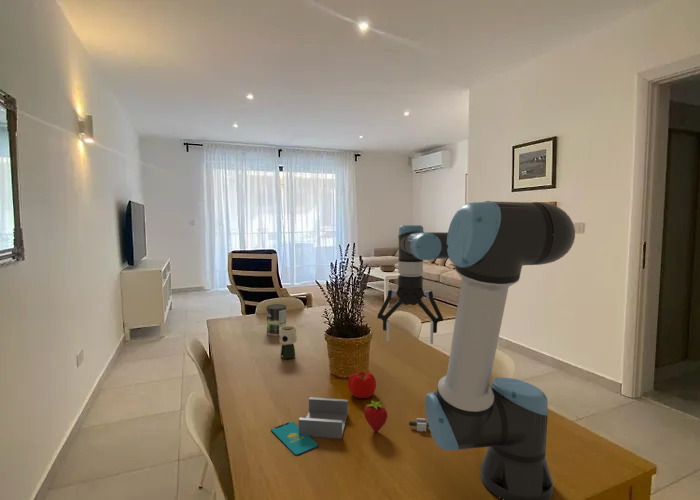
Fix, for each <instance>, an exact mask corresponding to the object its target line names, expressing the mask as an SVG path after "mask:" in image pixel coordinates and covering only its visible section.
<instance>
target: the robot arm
mask: <svg viewBox="0 0 700 500" xmlns="http://www.w3.org/2000/svg"><path fill="white" fill-rule="evenodd" d="M398 228H399V229H398V235H397V236H398V237H397V238H398V263H397V264H398V266H397V267H398V268H397V269H398V270H397V271H398V272H397V273H398V274H399V275H398V277H397V278H398V279H397V290H395V289H392V288H389V289H388V291H387V296H386V298H385V300H384V302H383V304H382V306H381V308H380V309H379V312H378V313H377V317H376V318H377V319H380V320H382V331H386V333H385V335H386V337H385V338H386V340H385V342H387V343H389V342H390V319H389V318H390V317H391V316H392V314H394V313H395V311H396V310H398V308H399V307H400V306H401V305H402V304H403V305H405V306H408V305H411V306H416V305H418V306H419V307H420V308H421V309H422V311H424V313H425V314H426V315H427V316H428V318H429V319H430V324H429V325H430V327H429V328H430V330H429V336H430V337H429V342H430V345H433V344H434V334H437V332H438V323H440V322H443V321H444V317H443V315H442V313H441V311H440V309H439V307H438V305H437V303H436V301H435V299H434V294H433V290H431V289H429V290H426V291H425V290H424V289H423V286H424V285H423V282H424V281H423V280H424V278H423V276H422V275H423V273H424V261H432V260H434V259H435V260H436V259H437V260H440V259H441V260H442V259H443V260H444V259H445V260H447V259H449V260H450V262H451V263H452V264H453V265H454V267H455V268H454V270H455V272H456V273H457V275H459V276H460V278H461V280H460V288H459V295H458V300H457V306H456V314H455V319H454V325H453V326H454V327H453V333H452V338H451V344H450V345H451V346H450V353H449V359H448V367H447V371H446V372H447V373H446V374H445V375H444V376H442V377H441V378H440V379H439V381H438V383H437V390H436V392H434V391H431V392H429V393H427V394H426V395H425V398H424V407H425V414H426V422H428V425H429V427H428V429H429V430H430V431H429V432H430V434H431V436H432V439H433V440H434V443H435V444H436V445H437V446H438V447H439V448H440V449H441V450H444V451H461V450H470V449H479V448H487V447H488V448H487V449H486V452H485V454H484V457H483V459H482V461H481V465H480V479H481V483H482V484H483V485H485V486H486V487H487V488H488V489H489V490H490V491H491V492H492V493H494V494H495V495H497V496H498V497H500V498H502V499H504V500H550V499H551V500H552V498H553V496H552V495H553V494H554V493H553V491H554V482H553V477H552V475H551V471H550V468H549V464H548V462H547V458H546V451H547V449H546V448H547V434H548V433H547V431H548V430H547V429H548V416H549V405H548V397H547V395H546V394H545V392H544V391H543V390H542V389H540V388H539V387H537V386H535V385H533V384H532V383H529V382H527V381H523V380H521V379H517V378H512V377H505V376H504V377H501V376H500V377H496V378H494V379H492V381H491V376H492V371H493V367H494V363H495V362H494V361H495V356H496V352H497V348H498V342H499V337H500V332H501V326H502V322H503V317H504V311H505V307H506V303H507V297H508V291H509V289H510V288H509V287H511V286H513V285H515V284H517V283H518V282H519V281H520V279H521V274H522V273H521V272H522V269H523V266H539V265H540V266H541V265H547V264H551V263H553V262H557V261H558V260H560V259H561V258H563V257H564V256H565V255H567V254H568V253H569V252H570V251H571V249H572V246H574V243H575V238H576V230H575V224H574V222H573V220H572V218H571V217H570V216H569V214H567V212H566V211H565V210H563V209H562V208H560V207H558V206H556V205H554V204H551V203H546V202H541V201H540V202H538V201H536V202H535V201H533V202H531V201H530V202H528V201H527V202H523V201H521V202H519V201H491V200H486V201H485V200H484V201H482V202H481V201H478V202H477V201H476V202H475V201H474V202H468V203H466V204H463V205H462V206H461V207H460V208H459V210H457V211H456V212H455V214H454V215H453V217H452V219H451V221H450V224H449V227H448V230H447V232H435V231H434V232H429V231H428V232H427V231H426V232H424V227H423V226H422V225H421V224H410V225H409V224H403V225H400V226H399V227H398ZM395 295H396V296H397V298H398V299H397V300H396V302H395V303H394V304H393V305H392V306H391V308H390V309H388V311H387V312H386V313H385V311H386V309H387V307H388V305H389V303H390V301H391V299H392V298H394V297H395ZM424 296H425V297H426V298H427V299H429V302H430V304H431V306H432V308H433V310H434V312H435V315H436V316H435V315H434V314H433V312H432V311H431V310H430V309H429V308H428V306H427V305H426V304H425V302H424V301H423V300H422V298H423V297H424ZM384 313H385V314H384ZM490 381H491V383H490ZM489 385H490V386H489ZM485 486H484V487H485ZM486 487H485V488H486ZM487 488H486V489H487ZM488 489H487V490H488ZM489 490H488V491H489ZM490 491H489V492H490ZM491 492H490V493H491ZM492 493H491V494H492ZM494 494H493V495H494ZM495 495H494V496H495ZM497 496H496V497H497ZM498 497H497V498H498ZM551 497H552V498H551ZM500 498H499V499H500ZM502 499H501V500H502Z"/></svg>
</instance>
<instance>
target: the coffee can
mask: <svg viewBox="0 0 700 500" xmlns="http://www.w3.org/2000/svg"><path fill="white" fill-rule="evenodd" d="M284 326H287V305H285V304H282V303H281V304H278V303H277V304H269V305H267V306H266V334H267V336H268V335H269V336H271V337H272V336H274V337H276V336H277V337H280V336H279V329H280V327H284Z"/></svg>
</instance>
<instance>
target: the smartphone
mask: <svg viewBox="0 0 700 500" xmlns="http://www.w3.org/2000/svg"><path fill="white" fill-rule="evenodd" d="M270 431H271V433H272V434H273V435H274V436H275V437H276V438H277V439H278V440H279V441H280V442H281V443H282V444H283V445H284V446H285V447H286V448H287V449H288V450H289V452H291V453H292V454H293V455H294V456H298V457H299V456H300V455H303V454H305V453H307V452H309V451H313V450H315V449H318V448H319V443H318V442H316V441H315V440H314V439H313V438H312V437H311V436H309V435H301V434H299V425H297V424H296V423H295V422H294V421H288V422H287V423H283V424H281V425H277V426H275V427H273V428H271V429H270Z"/></svg>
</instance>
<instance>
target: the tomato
mask: <svg viewBox="0 0 700 500" xmlns="http://www.w3.org/2000/svg"><path fill="white" fill-rule="evenodd" d="M347 383H348V384H347V388H348V390H349V392H350V393H351V394H352V395H353V397H355V398H357V399H367V398H370V397H372V396H373V394H374V393H375V390H376V388H377V382H376V378H375V375H373V373H372V372H367V371H366V372H364V371H363V370H359V371H358V372H356V373H353V374H351V375H350V377H349V379H348V382H347Z"/></svg>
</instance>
